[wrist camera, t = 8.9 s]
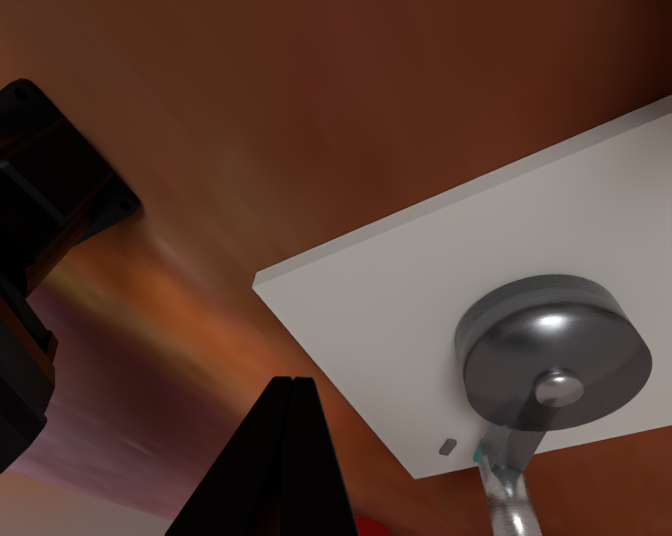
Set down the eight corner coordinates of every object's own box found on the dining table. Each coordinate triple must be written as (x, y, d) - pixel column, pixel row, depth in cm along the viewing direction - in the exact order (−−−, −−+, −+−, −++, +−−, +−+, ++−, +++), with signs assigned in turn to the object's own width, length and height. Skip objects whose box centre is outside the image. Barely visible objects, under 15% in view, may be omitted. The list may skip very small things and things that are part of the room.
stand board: (413, 463, 34) (414, 483, 33) (256, 272, 23) (250, 291, 22) (733, 392, 27) (750, 413, 26) (730, 69, 16) (759, 81, 15)
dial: (474, 269, 20) (517, 399, 15) (650, 278, 20) (760, 412, 14) (425, 439, 29) (440, 560, 23) (547, 446, 29) (592, 569, 23)
